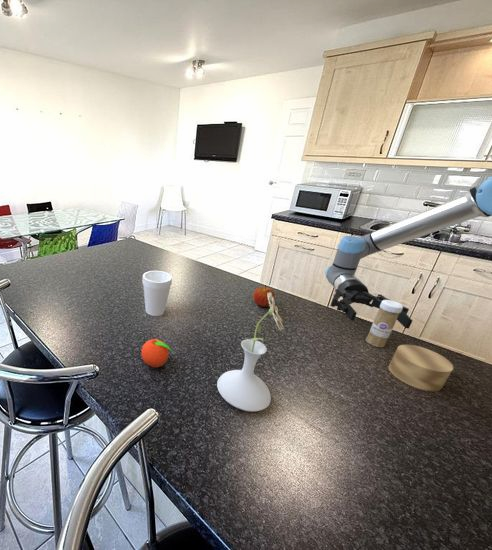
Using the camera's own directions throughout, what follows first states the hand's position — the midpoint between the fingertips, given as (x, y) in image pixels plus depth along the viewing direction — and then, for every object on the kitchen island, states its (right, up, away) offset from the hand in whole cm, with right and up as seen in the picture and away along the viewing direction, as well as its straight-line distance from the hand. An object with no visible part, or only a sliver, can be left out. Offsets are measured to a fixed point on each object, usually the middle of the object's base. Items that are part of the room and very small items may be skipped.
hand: (381, 320), depth 84 cm
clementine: (-65, -10, -8) cm, 67 cm away
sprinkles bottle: (0, -7, +2) cm, 7 cm away
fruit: (-25, +2, +21) cm, 32 cm away
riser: (-1, -12, -11) cm, 16 cm away
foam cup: (-63, +1, +16) cm, 65 cm away
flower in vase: (-46, -14, -17) cm, 51 cm away
